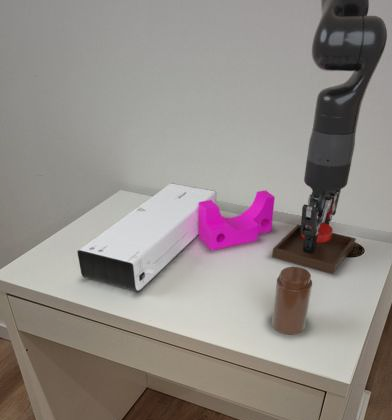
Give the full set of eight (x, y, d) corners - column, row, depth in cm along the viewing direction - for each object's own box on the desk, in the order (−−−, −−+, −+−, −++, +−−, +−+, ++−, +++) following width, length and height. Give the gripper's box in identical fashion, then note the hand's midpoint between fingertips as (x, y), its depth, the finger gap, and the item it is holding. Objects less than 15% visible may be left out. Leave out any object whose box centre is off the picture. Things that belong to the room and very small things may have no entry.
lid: (336, 233, 93) (337, 226, 92) (325, 245, 89) (326, 238, 88) (307, 226, 95) (308, 219, 94) (296, 238, 91) (297, 230, 90)
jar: (266, 318, 77) (271, 268, 71) (295, 312, 79) (303, 262, 73) (280, 337, 74) (287, 286, 68) (310, 330, 75) (320, 280, 69)
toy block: (211, 250, 95) (211, 214, 90) (198, 237, 99) (198, 202, 94) (277, 236, 99) (281, 201, 94) (262, 224, 104) (265, 190, 99)
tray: (296, 232, 101) (297, 224, 99) (354, 246, 96) (356, 238, 94) (272, 257, 93) (273, 248, 91) (333, 274, 88) (335, 265, 86)
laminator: (171, 209, 110) (170, 182, 106) (220, 219, 106) (221, 191, 102) (82, 280, 86) (76, 250, 82) (141, 297, 82) (138, 265, 78)
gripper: (336, 173, 76) (319, 267, 87) (363, 148, 85) (345, 235, 96) (292, 165, 79) (281, 256, 90) (323, 142, 89) (310, 227, 99)
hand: (314, 245), depth 93 cm, fingers closed on lid, 5 cm apart
